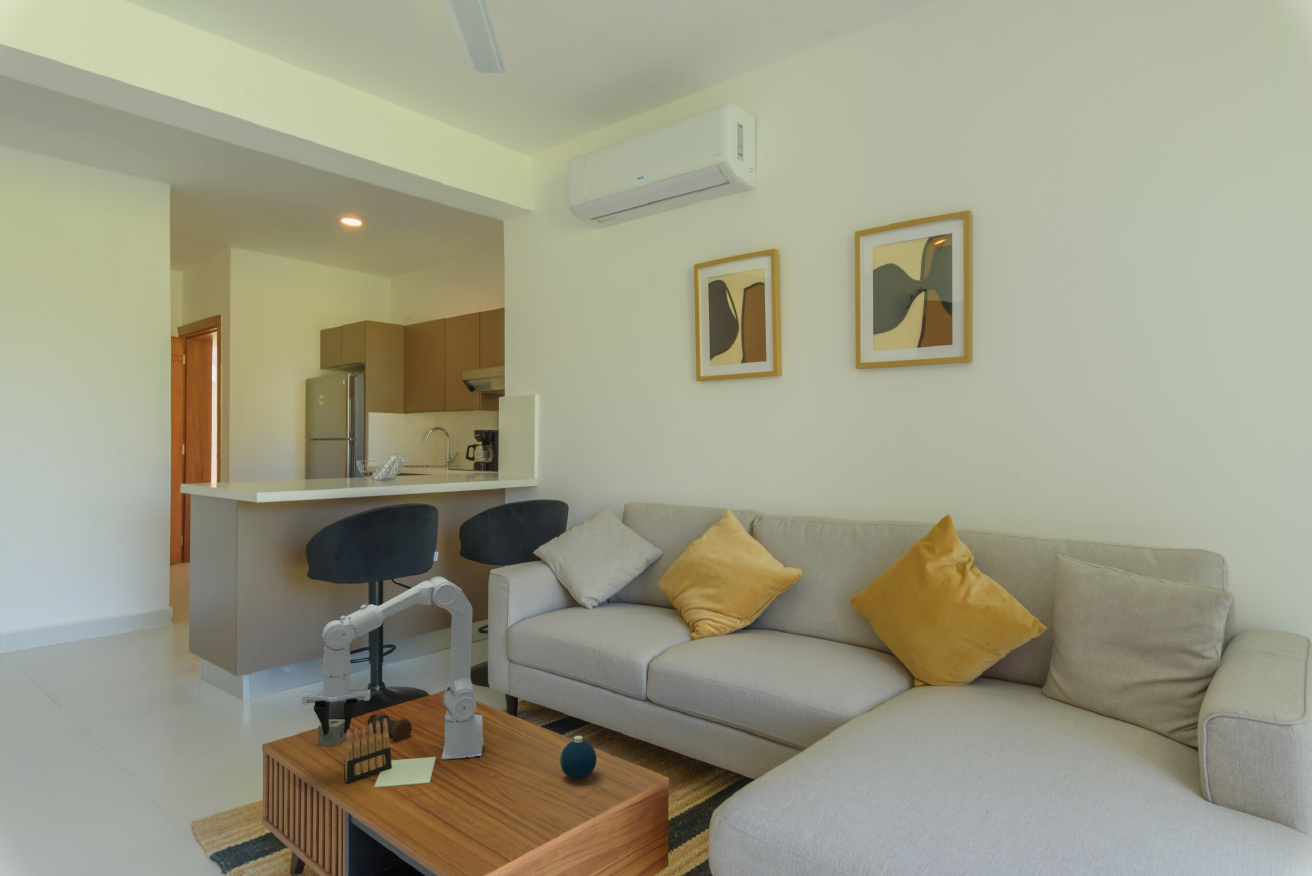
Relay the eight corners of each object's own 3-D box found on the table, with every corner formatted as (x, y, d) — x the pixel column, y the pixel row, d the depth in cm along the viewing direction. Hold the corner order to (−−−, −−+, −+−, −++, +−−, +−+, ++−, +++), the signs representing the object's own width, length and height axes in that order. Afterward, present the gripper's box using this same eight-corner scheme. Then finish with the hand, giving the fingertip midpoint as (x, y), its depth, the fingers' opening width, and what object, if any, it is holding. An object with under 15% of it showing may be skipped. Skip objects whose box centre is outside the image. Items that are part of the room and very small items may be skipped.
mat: (435, 757, 181) (435, 756, 181) (429, 782, 167) (429, 782, 167) (384, 761, 179) (384, 760, 179) (374, 787, 165) (374, 786, 165)
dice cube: (346, 738, 193) (346, 719, 194) (337, 746, 188) (337, 726, 189) (328, 738, 194) (328, 719, 194) (318, 745, 189) (318, 726, 189)
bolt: (374, 733, 202) (406, 744, 193) (359, 728, 199) (391, 740, 189) (384, 711, 204) (415, 721, 195) (369, 706, 201) (400, 716, 192)
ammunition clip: (347, 784, 167) (345, 731, 167) (343, 781, 168) (342, 729, 168) (392, 768, 175) (390, 717, 175) (388, 766, 176) (387, 715, 176)
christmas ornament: (571, 767, 175) (571, 725, 175) (602, 773, 172) (602, 730, 172) (553, 782, 168) (553, 738, 168) (585, 788, 164) (585, 743, 164)
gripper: (298, 681, 165) (298, 741, 165) (366, 677, 168) (366, 736, 168) (306, 671, 172) (306, 730, 172) (372, 668, 175) (372, 725, 175)
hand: (336, 732), depth 170 cm, fingers open, 4 cm apart
